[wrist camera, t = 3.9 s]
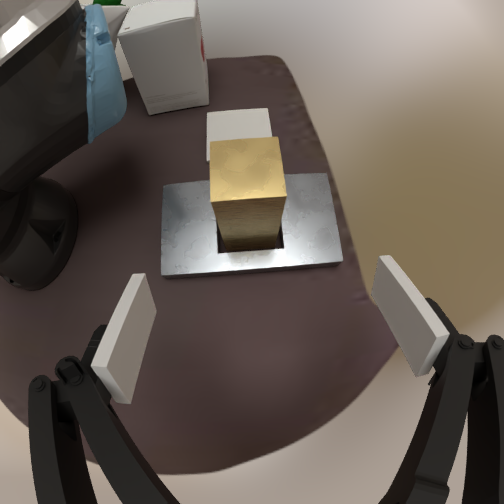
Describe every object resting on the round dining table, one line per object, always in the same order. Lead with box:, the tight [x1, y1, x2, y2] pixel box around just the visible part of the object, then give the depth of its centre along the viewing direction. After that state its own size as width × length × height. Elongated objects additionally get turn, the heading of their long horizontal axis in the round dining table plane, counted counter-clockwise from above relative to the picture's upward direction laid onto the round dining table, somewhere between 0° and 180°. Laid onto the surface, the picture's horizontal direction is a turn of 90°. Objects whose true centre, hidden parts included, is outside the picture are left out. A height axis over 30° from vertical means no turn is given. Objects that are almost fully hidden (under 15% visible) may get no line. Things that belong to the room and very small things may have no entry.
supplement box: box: [117, 0, 209, 115], centre depth 30 cm, size 9×9×15 cm
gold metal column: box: [210, 137, 287, 251], centre depth 25 cm, size 5×5×12 cm
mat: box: [207, 108, 272, 163], centre depth 34 cm, size 8×8×1 cm
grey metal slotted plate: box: [161, 173, 343, 279], centre depth 30 cm, size 18×10×2 cm, turn 94°
